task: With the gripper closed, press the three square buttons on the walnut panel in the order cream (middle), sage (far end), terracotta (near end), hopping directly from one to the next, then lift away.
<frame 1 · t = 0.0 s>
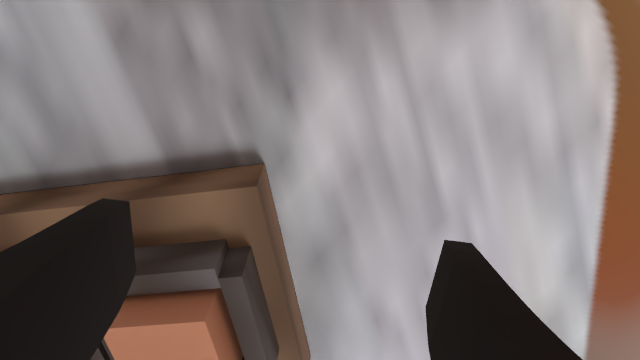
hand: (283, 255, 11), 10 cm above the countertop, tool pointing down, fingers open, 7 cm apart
button panel: (67, 289, 26), on the countertop
terracotta button: (177, 341, 22), point 4 cm above the countertop, slide at 0.0 cm
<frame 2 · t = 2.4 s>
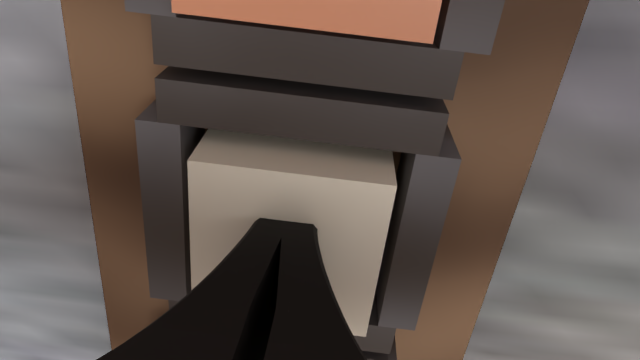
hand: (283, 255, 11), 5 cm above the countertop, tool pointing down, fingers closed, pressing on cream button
button panel: (304, 161, 16), on the countertop
cream button: (290, 227, 12), point 4 cm above the countertop, slide at 0.6 cm, touching gripper
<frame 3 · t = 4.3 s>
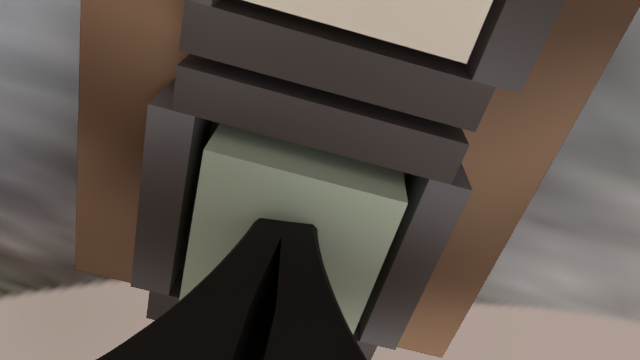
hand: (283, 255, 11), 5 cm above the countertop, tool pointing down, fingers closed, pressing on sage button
sage button: (290, 227, 12), point 3 cm above the countertop, slide at 0.8 cm, touching gripper
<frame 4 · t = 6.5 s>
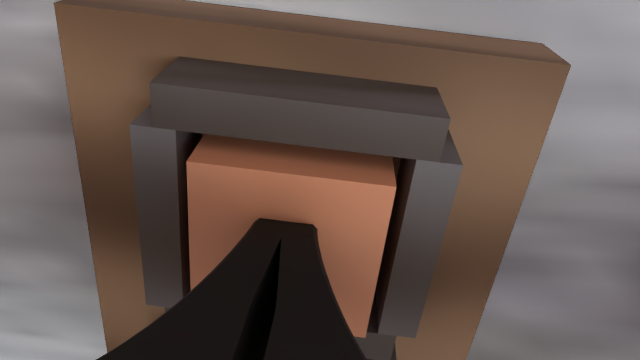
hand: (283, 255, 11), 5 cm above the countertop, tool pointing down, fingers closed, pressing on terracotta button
button panel: (286, 337, 19), on the countertop
terracotta button: (290, 228, 12), point 3 cm above the countertop, slide at 0.8 cm, touching gripper
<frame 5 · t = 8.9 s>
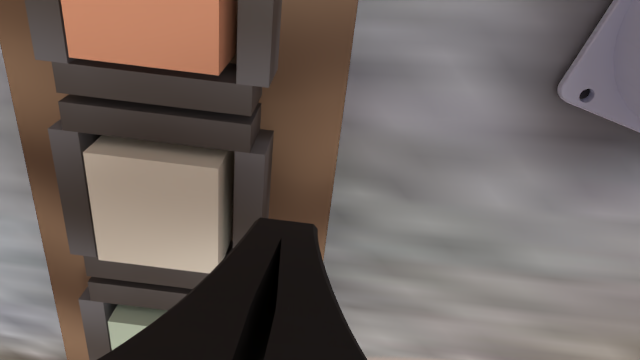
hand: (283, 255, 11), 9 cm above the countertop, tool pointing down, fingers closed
button panel: (192, 157, 21), on the countertop
cream button: (166, 199, 18), point 3 cm above the countertop, slide at 0.8 cm
sage button: (174, 343, 22), point 3 cm above the countertop, slide at 0.8 cm
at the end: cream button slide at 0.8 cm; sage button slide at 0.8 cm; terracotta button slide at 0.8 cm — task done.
